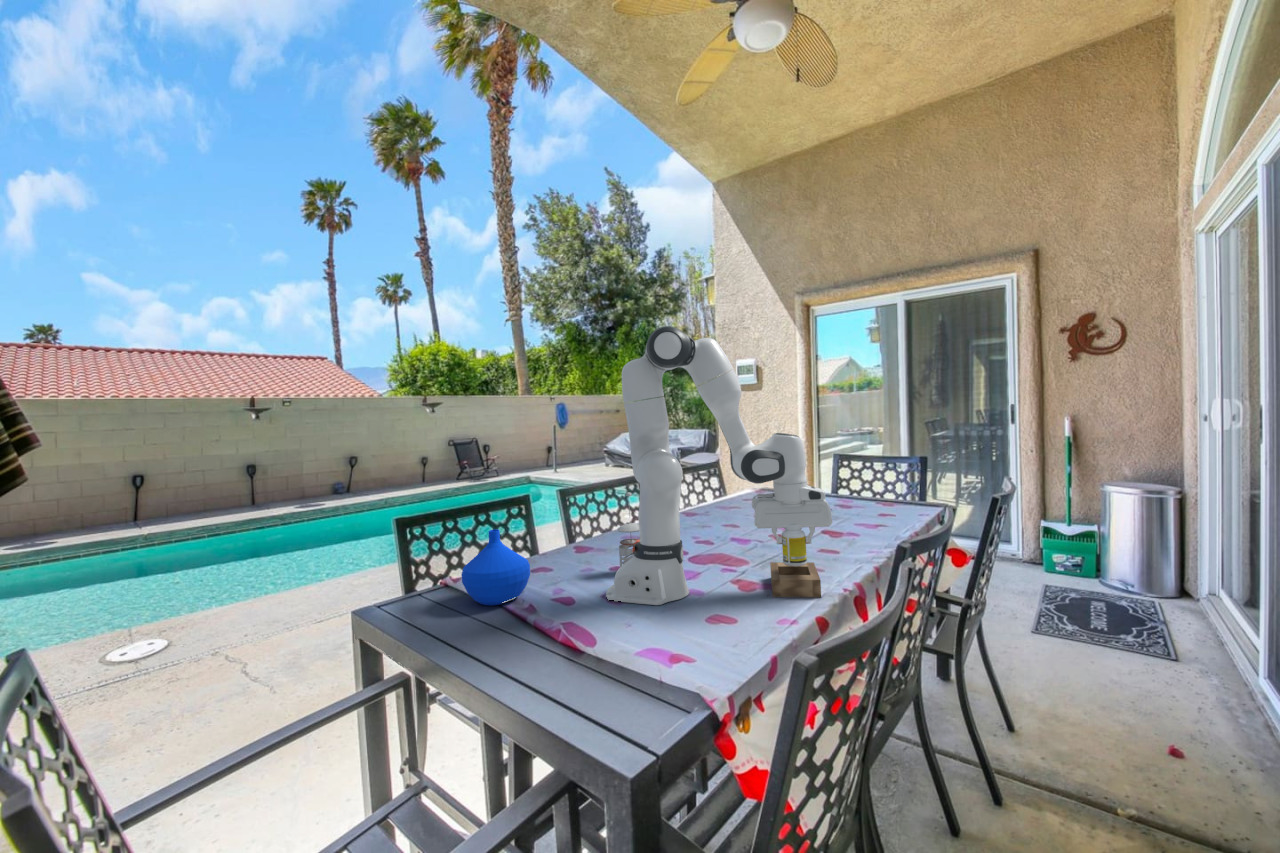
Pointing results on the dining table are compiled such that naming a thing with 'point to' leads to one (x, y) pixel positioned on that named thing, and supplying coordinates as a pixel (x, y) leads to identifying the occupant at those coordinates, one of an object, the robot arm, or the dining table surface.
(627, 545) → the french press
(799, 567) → the box
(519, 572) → the vase
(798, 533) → the pill bottle
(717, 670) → the dining table surface
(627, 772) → the dining table surface
